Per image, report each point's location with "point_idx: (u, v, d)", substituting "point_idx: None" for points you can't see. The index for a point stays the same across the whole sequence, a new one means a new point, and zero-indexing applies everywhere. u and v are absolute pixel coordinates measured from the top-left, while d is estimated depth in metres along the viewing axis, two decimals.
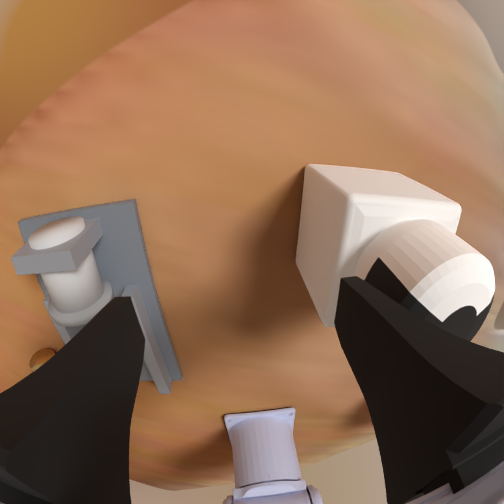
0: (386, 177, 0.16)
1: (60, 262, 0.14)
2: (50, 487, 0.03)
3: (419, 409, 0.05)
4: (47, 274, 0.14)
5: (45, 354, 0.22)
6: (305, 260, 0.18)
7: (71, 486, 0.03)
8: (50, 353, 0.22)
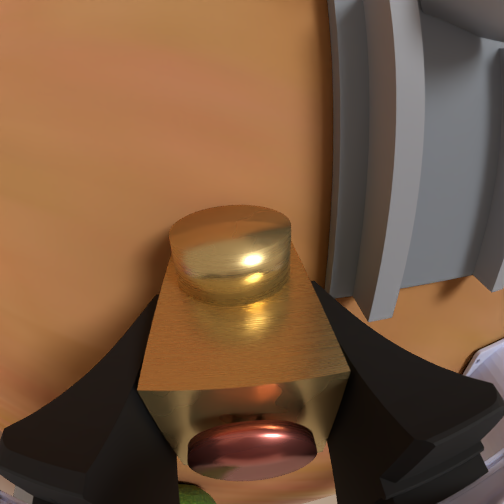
0: None
1: None
2: None
3: (358, 429, 0.05)
4: None
5: (231, 214, 0.08)
6: None
7: (138, 499, 0.04)
8: (250, 210, 0.09)
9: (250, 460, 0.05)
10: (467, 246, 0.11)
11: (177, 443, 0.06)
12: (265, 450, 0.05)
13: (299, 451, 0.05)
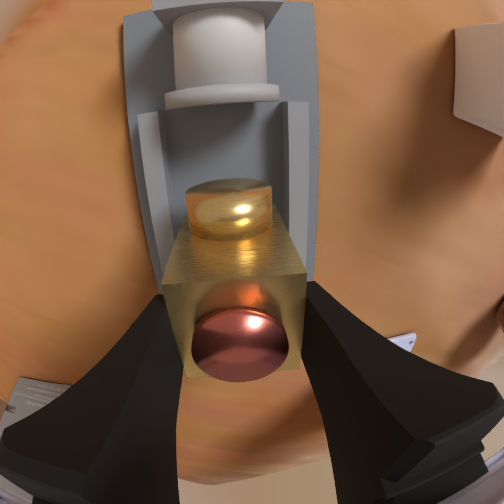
0: None
1: None
2: None
3: (358, 429, 0.05)
4: (209, 18, 0.08)
5: (229, 183, 0.11)
6: (477, 96, 0.12)
7: (137, 500, 0.04)
8: (244, 180, 0.12)
9: (238, 347, 0.08)
10: None
11: (184, 345, 0.09)
12: (248, 334, 0.08)
13: (274, 340, 0.08)
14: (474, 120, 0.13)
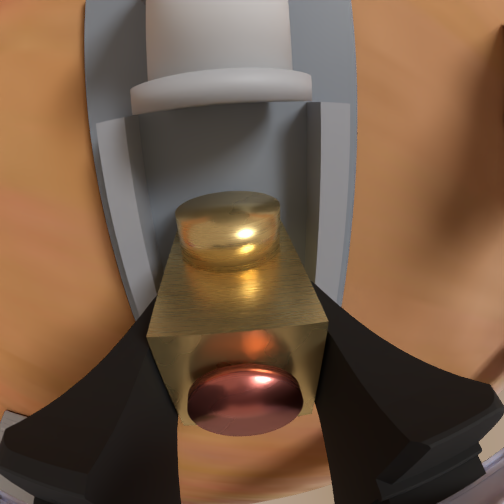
0: None
1: None
2: None
3: (354, 430, 0.05)
4: None
5: (229, 198, 0.10)
6: None
7: (139, 500, 0.04)
8: (246, 194, 0.10)
9: (243, 407, 0.06)
10: None
11: (179, 397, 0.07)
12: (256, 395, 0.06)
13: (287, 398, 0.06)
14: None
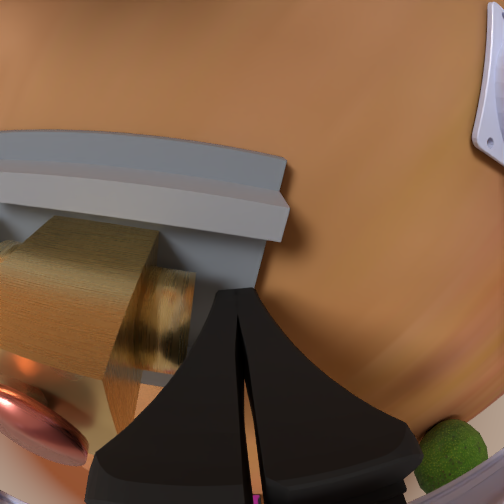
0: None
1: None
2: None
3: (258, 447, 0.05)
4: None
5: None
6: None
7: (250, 502, 0.04)
8: None
9: (22, 433, 0.04)
10: (214, 244, 0.10)
11: None
12: (0, 418, 0.04)
13: None
14: None
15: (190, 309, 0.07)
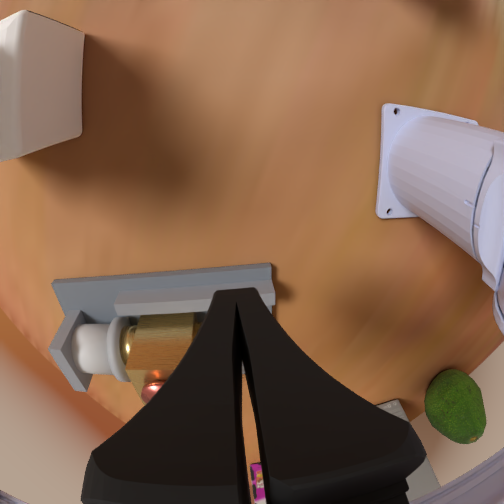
0: None
1: (60, 358, 0.17)
2: None
3: (260, 447, 0.05)
4: (83, 369, 0.18)
5: None
6: None
7: (247, 503, 0.04)
8: None
9: None
10: None
11: None
12: (151, 396, 0.16)
13: (152, 390, 0.15)
14: (67, 136, 0.13)
15: None
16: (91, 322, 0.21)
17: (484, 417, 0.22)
